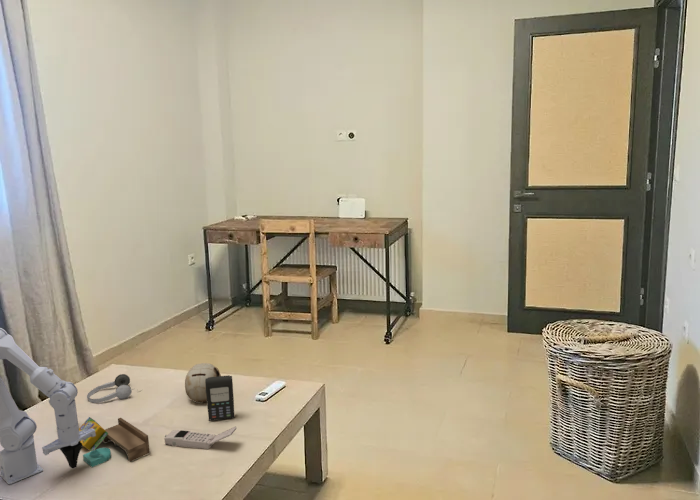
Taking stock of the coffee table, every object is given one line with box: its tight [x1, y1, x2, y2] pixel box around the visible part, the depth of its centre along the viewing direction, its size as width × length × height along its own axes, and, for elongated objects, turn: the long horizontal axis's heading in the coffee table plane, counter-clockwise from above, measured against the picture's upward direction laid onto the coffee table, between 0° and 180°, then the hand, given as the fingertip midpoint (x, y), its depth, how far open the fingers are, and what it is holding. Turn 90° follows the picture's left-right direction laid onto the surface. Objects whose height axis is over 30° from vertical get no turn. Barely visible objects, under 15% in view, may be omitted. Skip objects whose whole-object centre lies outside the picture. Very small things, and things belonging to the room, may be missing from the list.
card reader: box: [205, 374, 235, 422], centre depth 204 cm, size 9×4×15 cm, turn 101°
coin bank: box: [184, 362, 222, 404], centre depth 223 cm, size 16×17×13 cm
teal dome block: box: [82, 447, 112, 468], centre depth 181 cm, size 7×6×2 cm
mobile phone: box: [163, 426, 237, 450], centre depth 188 cm, size 6×6×25 cm
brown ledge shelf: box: [102, 417, 151, 462], centre depth 187 cm, size 6×18×6 cm, turn 47°
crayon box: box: [79, 416, 108, 452], centre depth 190 cm, size 7×3×12 cm
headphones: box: [86, 373, 143, 404], centre depth 225 cm, size 17×6×20 cm
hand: (73, 466), depth 176 cm, fingers closed
